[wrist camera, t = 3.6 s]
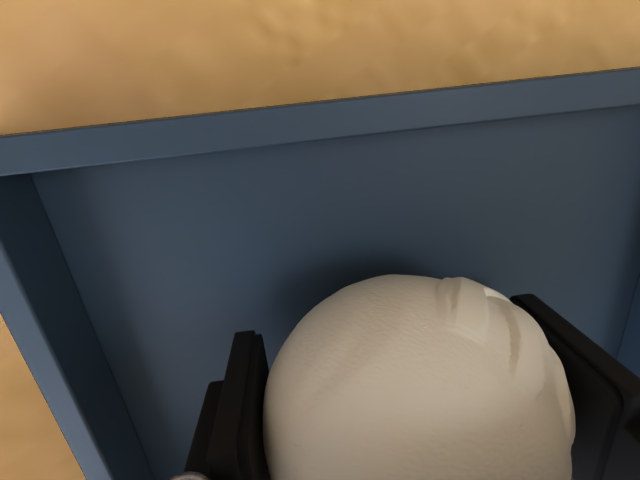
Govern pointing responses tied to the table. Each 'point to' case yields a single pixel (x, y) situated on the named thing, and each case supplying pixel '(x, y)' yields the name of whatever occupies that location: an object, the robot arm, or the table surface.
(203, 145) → the tray
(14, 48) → the table surface
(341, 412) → the cream carved ball
